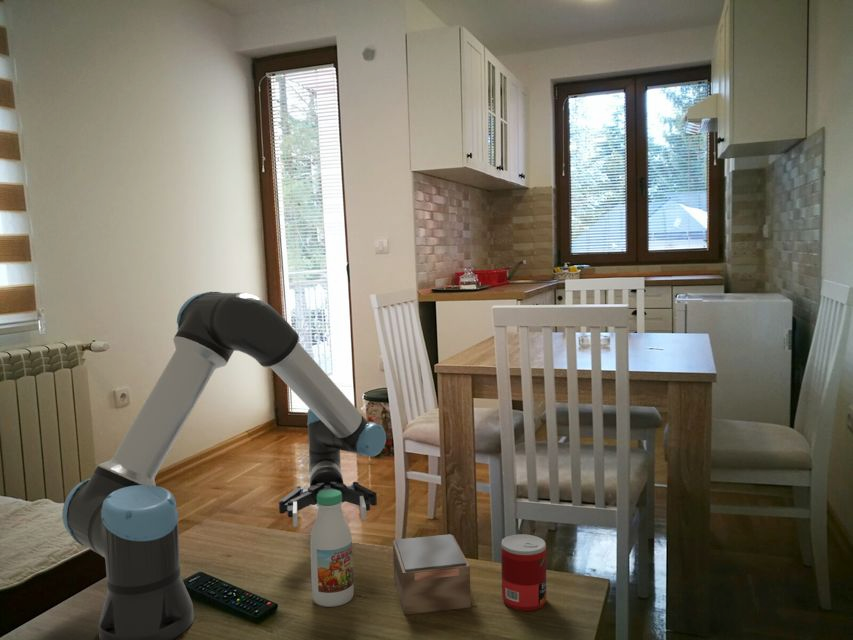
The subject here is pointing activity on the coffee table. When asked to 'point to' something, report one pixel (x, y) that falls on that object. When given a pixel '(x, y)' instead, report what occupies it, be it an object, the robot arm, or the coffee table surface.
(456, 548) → the riser
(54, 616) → the coffee table surface
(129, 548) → the robot arm
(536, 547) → the canned food
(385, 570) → the coffee table surface
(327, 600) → the milk bottle
